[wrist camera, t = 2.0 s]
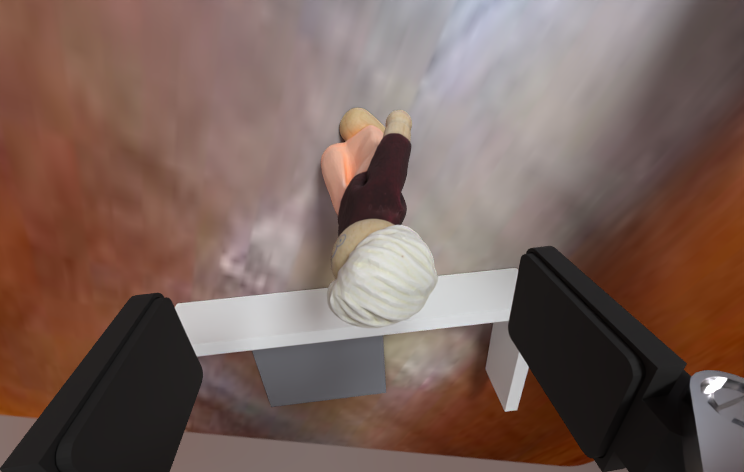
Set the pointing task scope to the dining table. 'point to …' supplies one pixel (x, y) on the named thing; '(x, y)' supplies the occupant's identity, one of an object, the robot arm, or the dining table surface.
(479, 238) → the dining table surface
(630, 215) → the dining table surface
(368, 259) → the grandmother figurine
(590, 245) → the dining table surface
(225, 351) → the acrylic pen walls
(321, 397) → the slate mat
